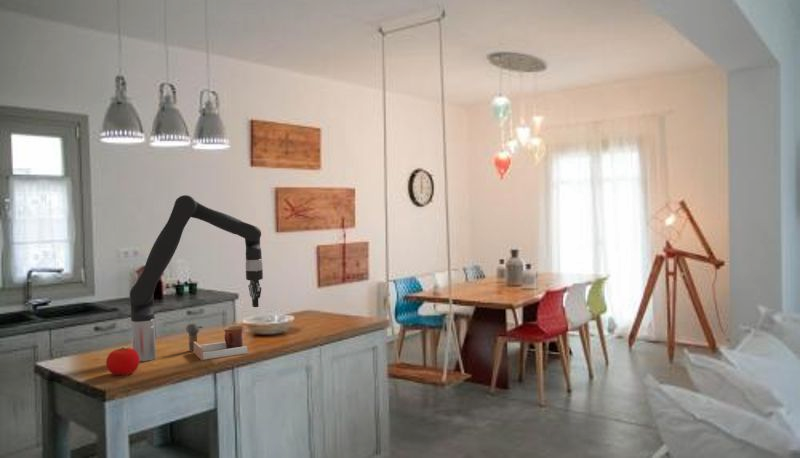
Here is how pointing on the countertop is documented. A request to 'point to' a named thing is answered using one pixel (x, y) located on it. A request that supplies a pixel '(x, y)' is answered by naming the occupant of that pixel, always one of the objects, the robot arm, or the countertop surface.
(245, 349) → the tray
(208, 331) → the countertop surface
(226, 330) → the mug
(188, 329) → the winch prop
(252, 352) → the countertop surface
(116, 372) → the tomato
